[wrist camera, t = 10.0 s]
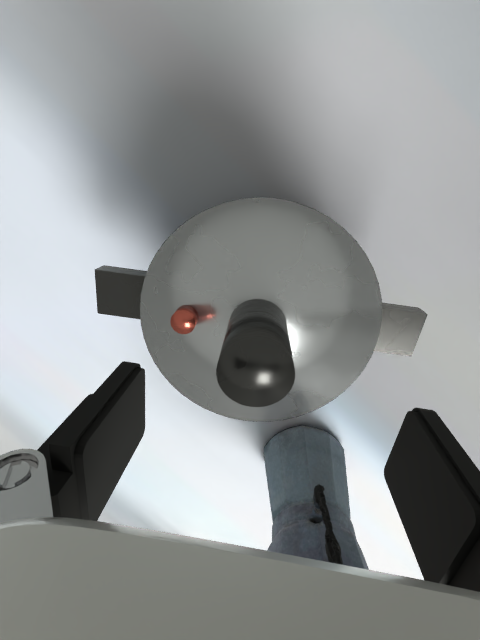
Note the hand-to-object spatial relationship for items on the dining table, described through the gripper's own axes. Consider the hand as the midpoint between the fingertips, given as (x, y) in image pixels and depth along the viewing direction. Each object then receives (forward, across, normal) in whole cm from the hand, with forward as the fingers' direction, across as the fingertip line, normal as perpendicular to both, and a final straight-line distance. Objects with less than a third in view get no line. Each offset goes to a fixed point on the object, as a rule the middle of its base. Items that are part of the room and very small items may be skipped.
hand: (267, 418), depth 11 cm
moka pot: (+18, -6, +19) cm, 27 cm away
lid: (+9, +1, 0) cm, 9 cm away
